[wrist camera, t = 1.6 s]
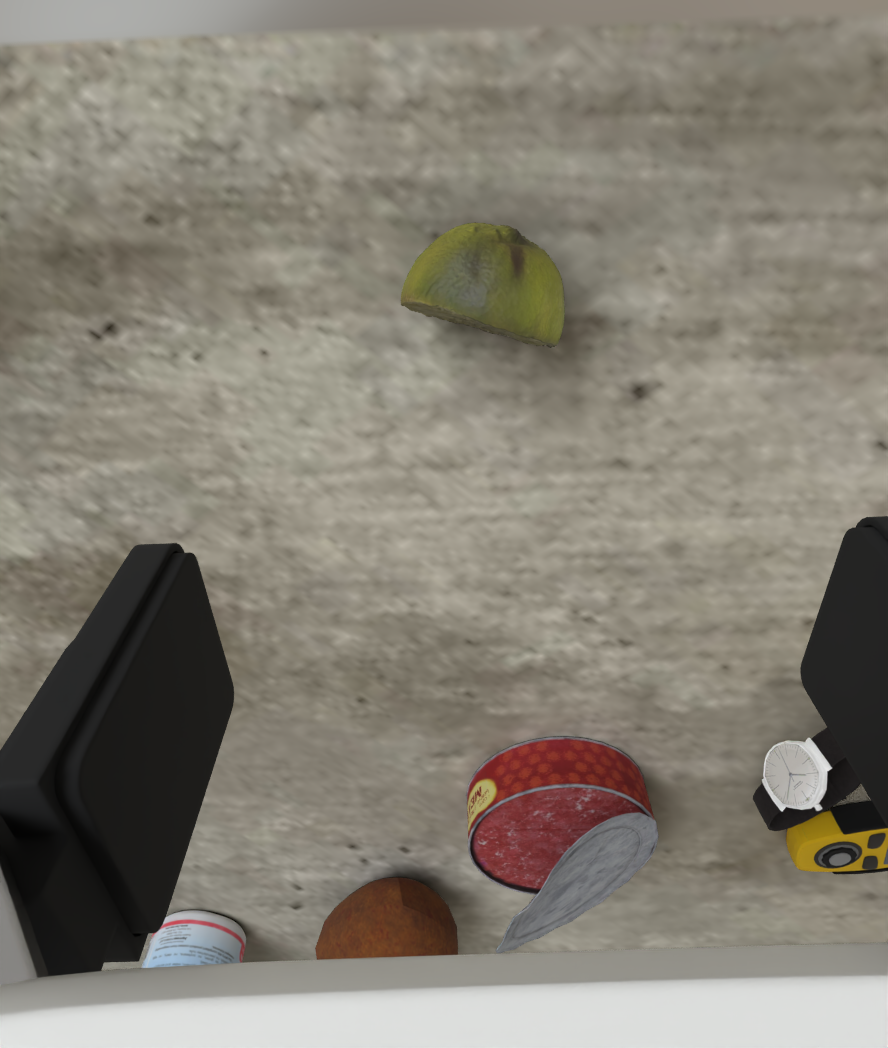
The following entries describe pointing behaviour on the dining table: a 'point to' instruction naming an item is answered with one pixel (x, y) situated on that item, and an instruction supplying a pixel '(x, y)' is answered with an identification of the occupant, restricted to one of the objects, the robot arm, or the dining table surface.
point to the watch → (803, 780)
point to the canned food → (558, 828)
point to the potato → (389, 923)
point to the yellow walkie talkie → (841, 841)
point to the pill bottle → (195, 941)
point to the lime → (489, 284)
